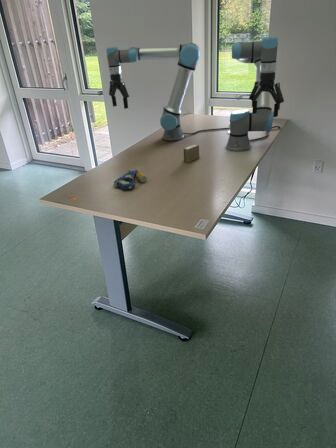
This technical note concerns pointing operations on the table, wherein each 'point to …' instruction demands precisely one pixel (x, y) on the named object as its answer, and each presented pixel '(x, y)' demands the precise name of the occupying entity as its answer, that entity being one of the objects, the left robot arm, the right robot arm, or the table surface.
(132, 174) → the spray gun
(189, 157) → the ink box
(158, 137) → the table surface
